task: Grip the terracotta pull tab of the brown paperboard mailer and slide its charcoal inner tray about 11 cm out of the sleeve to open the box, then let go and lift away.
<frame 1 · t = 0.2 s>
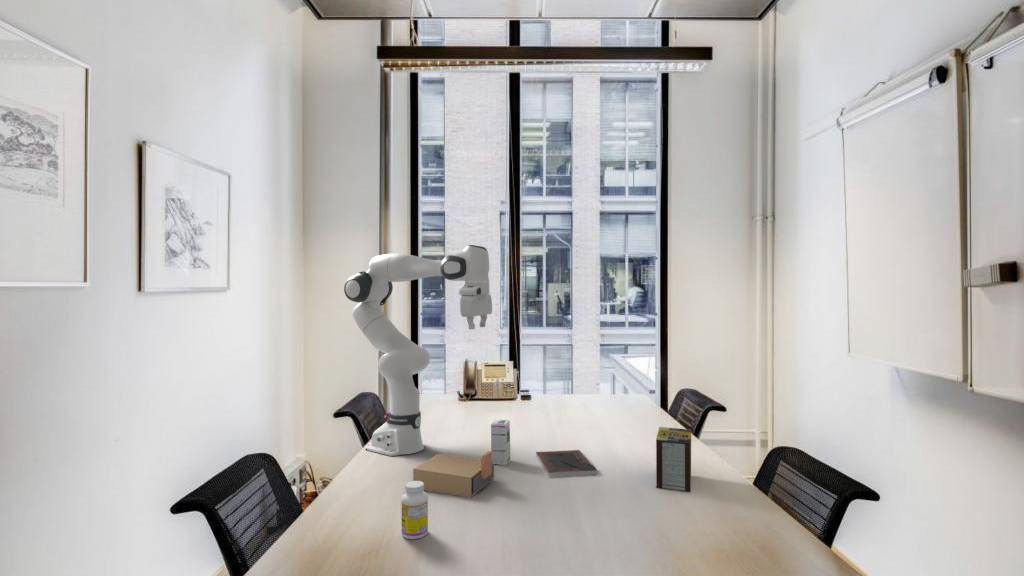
hand: (477, 328, 192), 48 cm above the table, tool pointing down, fingers open, 8 cm apart
supplement bottle: (414, 534, 135), on the table
protein box: (674, 482, 171), on the table
syrup box: (500, 462, 190), on the table
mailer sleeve: (453, 483, 170), on the table
picture frame: (564, 467, 187), on the table
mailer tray: (457, 465, 169), point 6 cm above the table, slide at 0.0 cm
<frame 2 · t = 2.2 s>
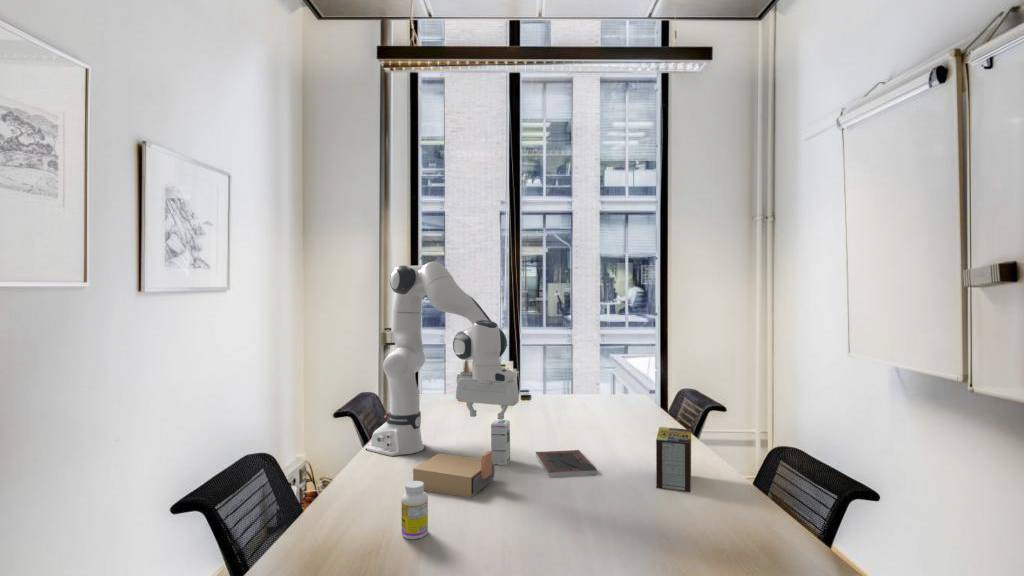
hand: (486, 417, 165), 22 cm above the table, tool pointing down, fingers open, 8 cm apart
nothing on the table moved.
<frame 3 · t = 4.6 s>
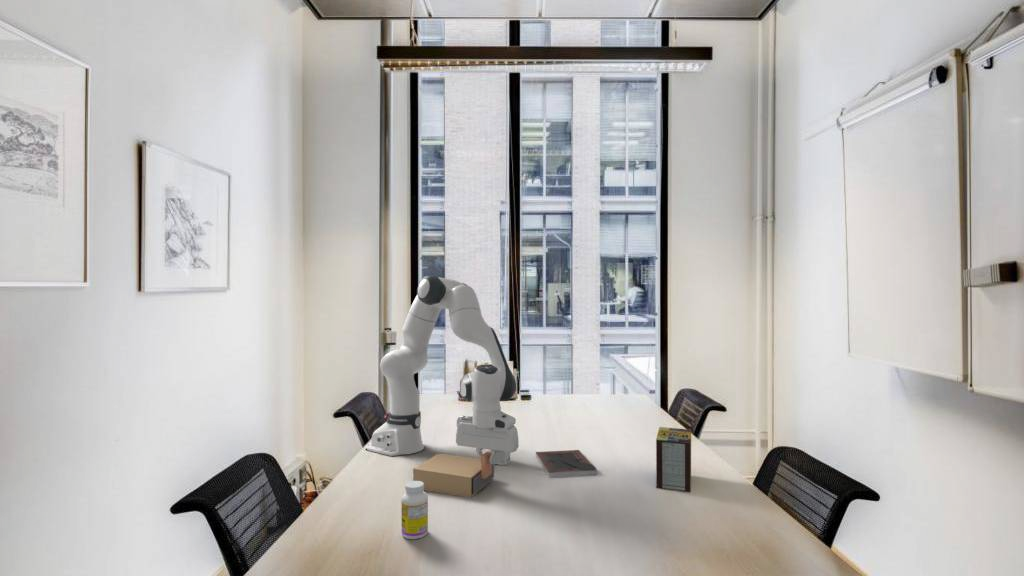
hand: (486, 462, 165), 8 cm above the table, tool pointing down, fingers closed on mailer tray
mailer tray: (457, 465, 169), point 6 cm above the table, slide at 0.0 cm, touching gripper
everything else where it was.
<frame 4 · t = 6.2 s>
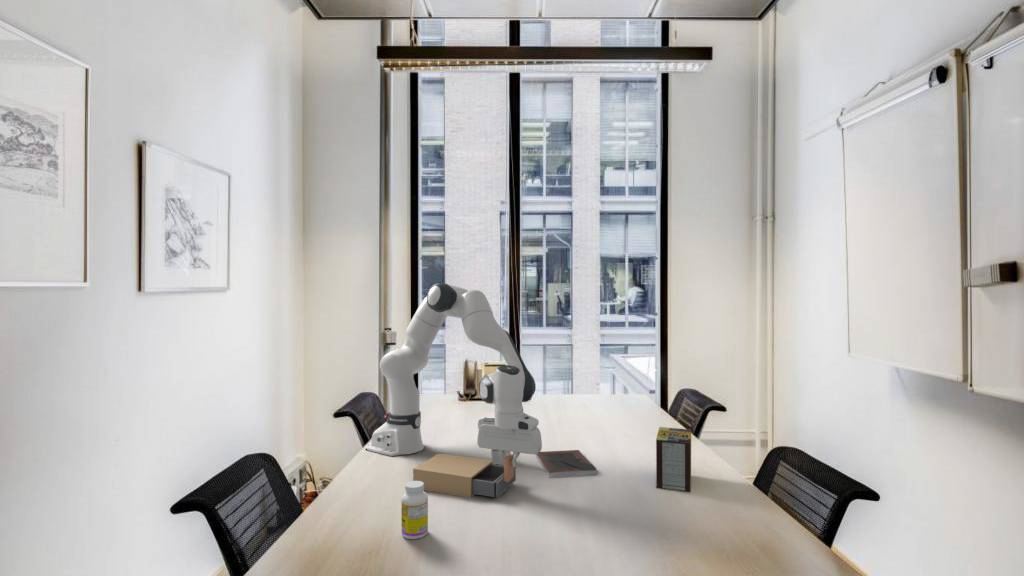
hand: (509, 464, 162), 8 cm above the table, tool pointing down, fingers closed on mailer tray
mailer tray: (478, 468, 166), point 6 cm above the table, slide at 7.5 cm, touching gripper
everything else where it was.
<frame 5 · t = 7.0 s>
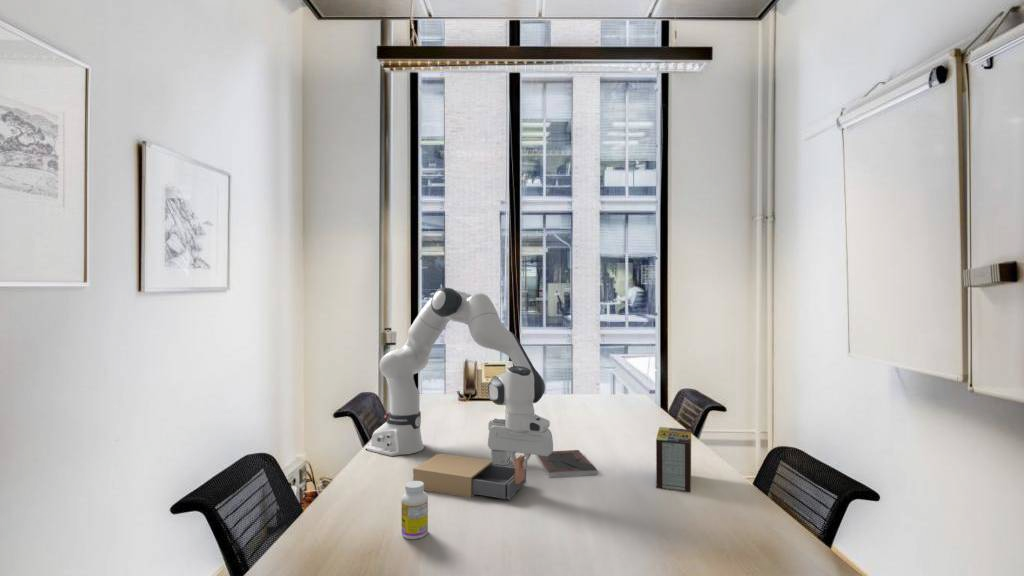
hand: (520, 466, 161), 8 cm above the table, tool pointing down, fingers closed on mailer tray
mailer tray: (488, 469, 165), point 6 cm above the table, slide at 11.1 cm, touching gripper
everything else where it was.
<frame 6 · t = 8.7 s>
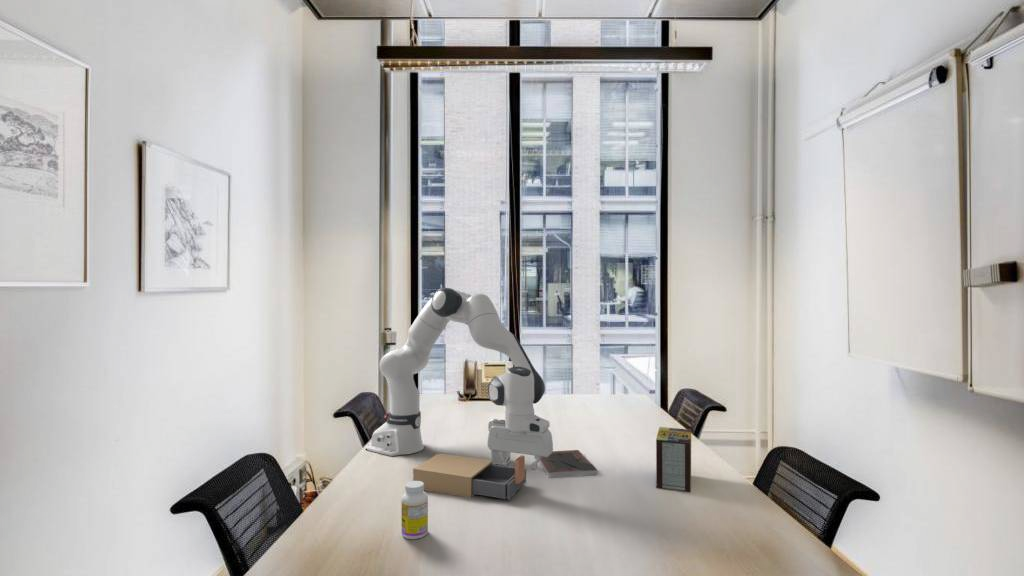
hand: (519, 467, 161), 8 cm above the table, tool pointing down, fingers open, 8 cm apart
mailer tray: (488, 469, 165), point 6 cm above the table, slide at 11.1 cm
everything else where it was.
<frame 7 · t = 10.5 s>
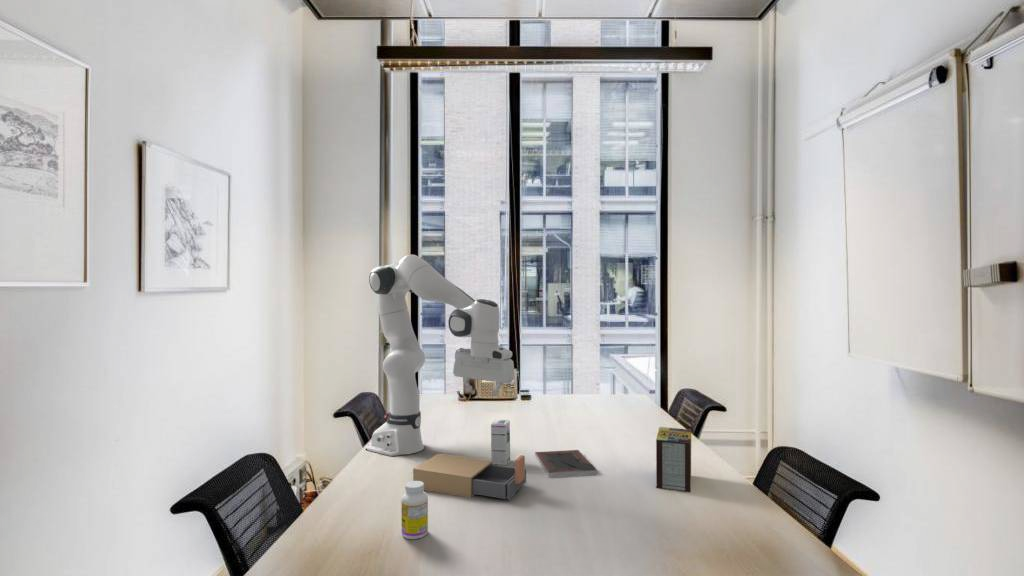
hand: (482, 393, 170), 29 cm above the table, tool pointing down, fingers open, 8 cm apart
nothing on the table moved.
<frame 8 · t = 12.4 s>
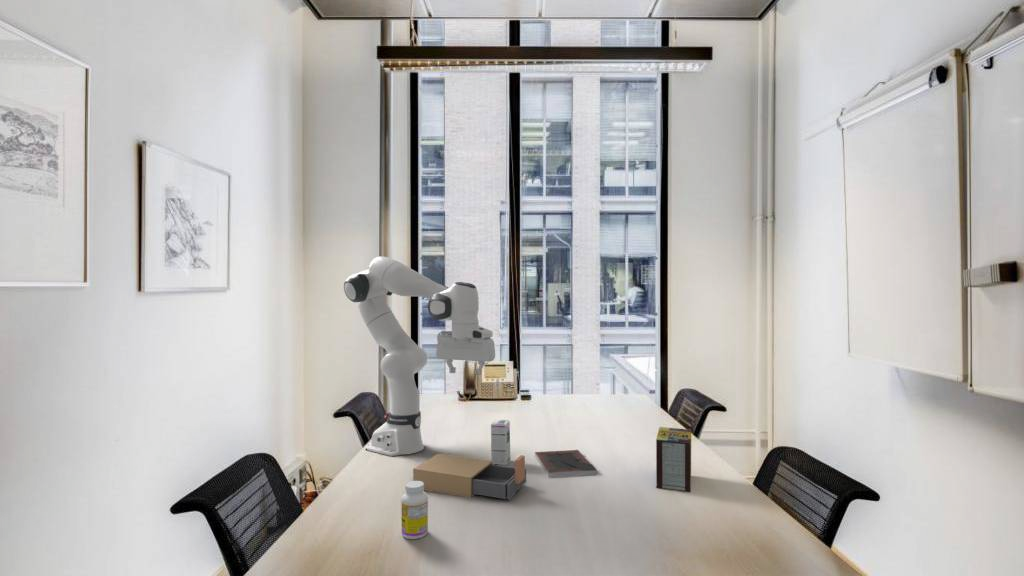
hand: (465, 373, 174), 34 cm above the table, tool pointing down, fingers open, 8 cm apart
nothing on the table moved.
at the end: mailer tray slide at 11.1 cm; syrup box moved 0.2 cm from its start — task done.
